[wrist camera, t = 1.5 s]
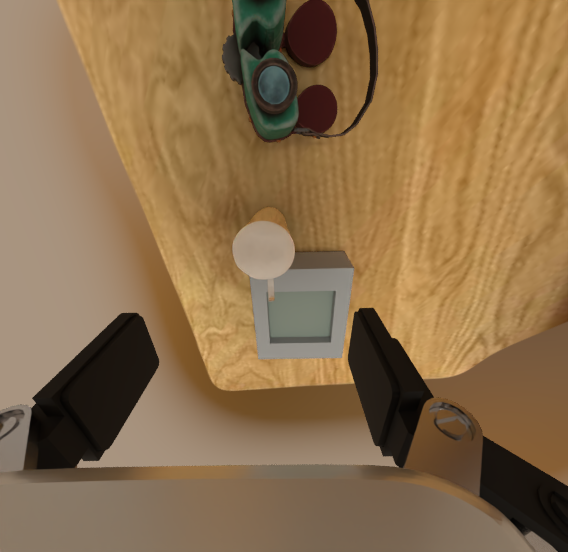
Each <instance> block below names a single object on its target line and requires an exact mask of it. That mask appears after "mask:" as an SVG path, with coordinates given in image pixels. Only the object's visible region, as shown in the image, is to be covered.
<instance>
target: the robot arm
mask: <svg viewBox="0 0 568 552" xmlns="http://www.w3.org/2000/svg"><path fill="white" fill-rule="evenodd" d="M348 362H349V366H350V369H351V373H352V376H353V379H354V382H355V385H356V388H357V391H358V395H359V397H360V401H361V404H362V407H363V410H364V413H365V417H366V420H367V423H368V426H369V429H370V432H371V435H372V439H373V442H374V444H375V445H376V446H380V449H381V451H382V455H383V456H393V458H394V461H395V464H396V465H397V466H399V467H389V466H375V465H226V466H225V465H222V466H159V467H157V466H156V467H104V468H77V464H78V463H79V461H80V460H81V458H82V459H83V461H99V460H100V458H101V456H102V455H103V453H104V451H105V450H107V449H109V448H110V446H111V445H112V443H113V442H114V440H115V438H116V437H117V435H118V433H119V432H120V430H121V428H122V427H123V425H124V423H125V422H126V420H127V418H128V417H129V415H130V413H131V412H132V410H133V408H134V407H135V405H136V403H137V402H138V400H139V398H140V397H141V395H142V393H143V391H144V390H145V388H146V387H147V385H148V383H149V382H150V380H151V378H152V377H153V375H154V373H155V371H156V369H157V368H158V366H159V358H158V356H157V354H156V351H155V348H154V345H153V343H152V340H151V338H150V335H149V332H148V330H147V327H146V325H145V322H144V319H143V318H142V317H141V316H139V314H138V313H121V314H120V315H119V316H118V317H117V318H116V319H115V320H114V321H113V322H111V323H110V324H109V325H108V326H107V327H106V328H105V329H104V330H103V331H102V332H101V333H100V334H99V335H98V336H97V337H96V338H95V339H94V340H93V341H92V342H91V343H90V344H88V346H86V347H85V348H84V349H83V350H82V351H81V352H80V353H79V354H78V355H77V356H76V357H75V358H74V359H73V360H72V361H71V362H70V363H69V364H67V366H65V367H64V368H63V369H62V370H61V371H60V372H59V373H58V374H57V375H56V376H55V377H54V378H53V379H52V380H51V381H50V382H49V383H48V384H47V385H46V386H44V387H43V388H42V389H41V390H40V391H39V392H38V393H37V394H36V395H35V396H34V397H33V398H32V399H33V400H34V401H35V402H36V404H35V405H34V406H33V407H32V408H31V407H29V406H28V405H16V406H12V407H9V408H6V409H3V410H1V411H0V552H568V486H567V485H565V484H563V483H561V482H560V481H558V480H556V479H555V478H553V477H551V476H550V475H548V474H546V473H545V472H543V471H541V470H540V469H538V468H536V467H535V466H533V465H531V464H530V463H528V462H526V461H525V460H523V459H521V458H519V457H518V456H516V455H515V454H513V453H511V452H510V451H508V450H506V449H505V448H503V447H501V446H499V445H498V444H496V443H494V442H493V441H491V440H489V439H487V438H486V437H484V436H483V434H482V429H481V427H480V425H479V423H478V422H477V420H476V419H475V418H474V417H473V415H472V414H471V413H469V412H468V411H467V410H466V409H465V408H464V407H462V406H460V405H459V404H457V403H455V402H453V401H450V400H448V399H444V398H439V397H438V398H434V397H433V395H432V393H431V392H430V390H429V389H428V387H427V386H426V384H425V383H424V381H423V379H422V377H421V376H420V374H419V373H418V371H417V370H416V368H415V366H414V365H413V363H412V362H411V360H410V358H409V357H408V355H407V354H406V352H405V350H404V349H403V347H402V346H401V344H400V343H399V341H398V340H397V339H395V338H391V336H390V334H389V333H388V331H387V329H386V328H385V326H384V324H383V323H382V321H381V319H380V318H379V316H378V314H377V313H376V311H375V309H374V308H360V309H359V311H358V312H355V313H354V319H353V326H352V333H351V339H350V346H349V353H348Z"/></svg>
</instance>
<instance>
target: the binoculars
mask: <svg viewBox="0 0 568 552" xmlns="http://www.w3.org/2000/svg"><path fill="white" fill-rule="evenodd" d="M354 1H355V2H356V4H357V6H358V7H359V9H360V10H361V14H362V17H363V21H364V25H365V28H366V32H367V37H368V45H369V53H370V81H369V86H368V91H367V95H366V100H365V104H364V105H363V107H362V109H361V110H360V112H359V114H358V115H357V117H356V119H355V120H354V122H353V123H352V125H351V126H350V127H348V128H347V129H346V130H345V131H344V132H342V133H341V134H336V135H327V134H322V133H324V132H325V131H327V130H328V129H329V128H330V127H331V126H332V124H333V123H334V121H335V119H336V115H337V102H336V99H335V96H334V94H333V93H332V92H331V90H330V89H328V88H327V87H325V86H323V85H313V86H310V87H308V88H307V89H306V90H304V91H303V92H302V93H301V94H300V95H299V97H298V99H297V96H296V93H297V78H296V75H295V72H294V70H293V69H292V67H291V66H290V65H289V63H288V61H287V60H286V58H285V57H284V56H283V54H282V53H281V52H282V49H281V47H286V48H287V50H288V53H289V54H290V55H291V57H292V58H293V59H294V60H295V61H296V62H297V63H299V64H300V65H302V66H305V67H313V66H316V65H318V64H320V63H321V62H323V61H325V60H326V59H327V58H328V57H329V55H330V54H331V52H332V50H333V48H334V45H335V41H336V35H337V25H336V20H335V16H334V13H333V11H332V9H331V8H330V6H329V5H328V4H327V3H326V2H324V1H322V0H309V1H307V2H305V3H304V4H303V5H302V6H300V7H299V8H298V10H297V11H296V12H295V14H294V15H293V17H292V18H291V20H290V22H289V24H288V25H287V28H286V32H285V33H283V28H284V19H285V9H286V0H232V2H233V10H232V16H233V35H232V36H228V37H227V38H226V39H227V41H226V43H225V44H223V55H222V60H223V63H224V64H225V66H224V67H225V70H226V72H227V74H228V73H229V75H230V78H231V79H232V80H233V81H237V82H238V84H240V85H242V88H243V95H244V102H245V106H246V108H247V111H248V114H249V121H250V122H251V123H252V125H253V128H254V130H255V132H256V133H257V135H258V136H259V137H260V138H261V139H262V140H263V141H264V142H274V141H276V142H280V141H281V140H283V139H285V138H287V137H289V136H290V135H291V134H302V135H303V136H312V137H313V138H318V139H320V137H326V138H329V137H336V136H342V135H345V134H346V133H348V132H349V131H350V130H351V129H353V128H354V127H355V126H356V125H357V124H358V123H359V121H360V120H361V118H362V116H363V115H364V113H365V111H366V110H367V108H368V107H369V105H370V103H371V102H372V99H373V94H374V89H375V85H376V80H377V76H378V45H377V36H376V27H375V23H374V19H373V15H372V11H371V7H370V4H369V0H354ZM246 101H247V103H246ZM295 126H296V127H297V128H296V127H295ZM292 129H293V130H292ZM290 132H291V133H290Z"/></svg>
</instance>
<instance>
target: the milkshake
mask: <svg viewBox="0 0 568 552" xmlns="http://www.w3.org/2000/svg"><path fill="white" fill-rule="evenodd" d="M232 252H233V256H234V260H235V263H236V265H237V266H238V268H239V269H241V270H242V271H243V272H244V273H246V274H247V275H249V276H250V277H252V278H255V279H261V280H266V279H267V280H268V301H269V302H271V301H275V296H274V279H273V278H276V277H279V276H281V275H282V274H284V273H285V272H286V271H287V270H288V269H289V268H290V266H291V264H292V262H293V260H294V256H295V247H294V242H293V240H292V238H291V235H290V233H289V230H288V228H287V224H286V221H285V218H284V215H283V214H282V213H281V212H280V211H279V210H278V209H277V208H271V207H265V208H263V209H262V210H260V211H258V212H257V213H256V214H255V215H254V216H253V218H252V219H251V220H250V221H249V222H248V223H247V224H246V225H245V226H244V227H243V228H242V229H241V230H240V231H239V232H238V234H237V235H236V237H235V239H234V241H233V245H232Z"/></svg>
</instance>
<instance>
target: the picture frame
mask: <svg viewBox="0 0 568 552" xmlns="http://www.w3.org/2000/svg"><path fill="white" fill-rule="evenodd" d="M353 273H354V267H353V265H352V264H351V262H350V260H349V259H348V257H347V255H346V254H345V252H344V251H330V252H295V256H294V260H293V262H292V264H291V266H290V268H289V269H288V270H287V271H286V272H285V273H284V274H282V275H281V276H279V277H276V278H273V279H274V296H275V301H271V302H269V301H268V280H267V279H266V280H261V279H255V278H252V277H250V285H251V294H252V303H253V313H254V322H255V331H256V341H257V350H258V359H301V358H342V353H343V346H344V339H345V332H346V324H347V317H348V310H349V302H350V295H351V288H352V281H353Z"/></svg>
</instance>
